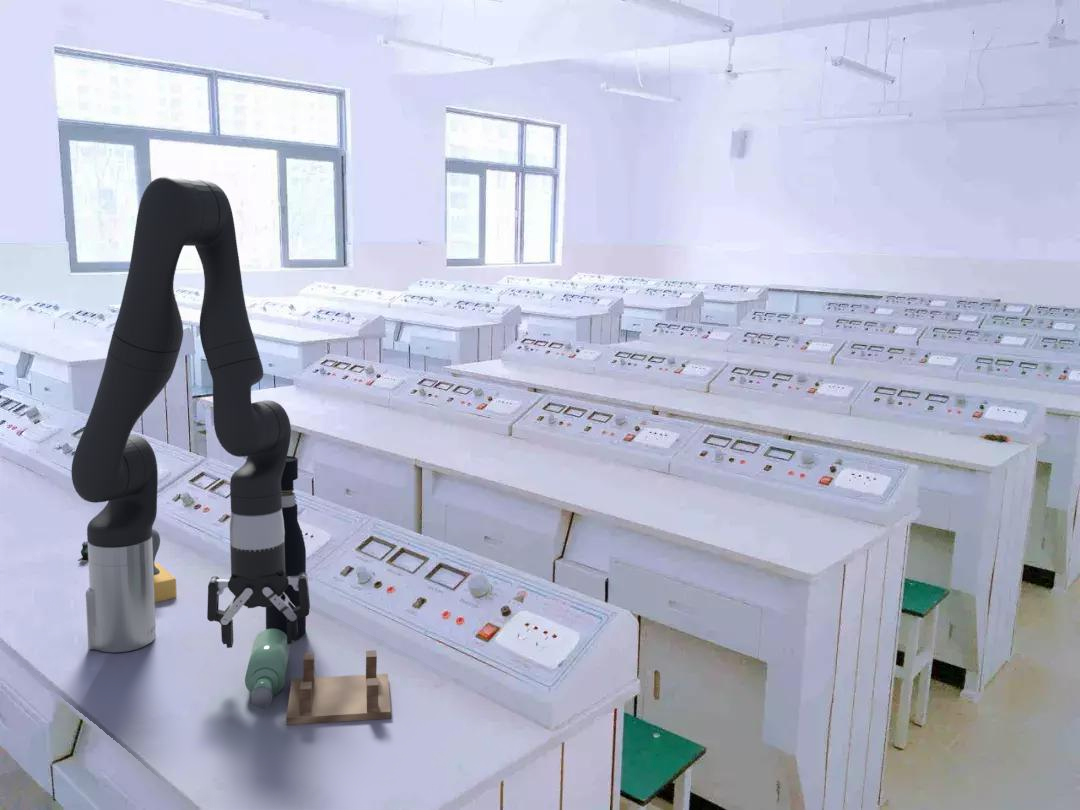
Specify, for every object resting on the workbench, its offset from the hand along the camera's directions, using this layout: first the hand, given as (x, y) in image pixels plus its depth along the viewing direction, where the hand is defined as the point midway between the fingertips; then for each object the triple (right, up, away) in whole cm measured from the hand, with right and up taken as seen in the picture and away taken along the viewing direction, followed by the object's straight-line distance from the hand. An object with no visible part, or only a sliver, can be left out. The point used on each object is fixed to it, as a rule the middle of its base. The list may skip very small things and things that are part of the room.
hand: (260, 643), depth 132 cm
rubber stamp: (-29, +1, +30) cm, 42 cm away
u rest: (+13, -7, -4) cm, 15 cm away
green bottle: (0, -6, -1) cm, 6 cm away
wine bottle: (-1, -3, +16) cm, 17 cm away
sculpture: (-48, +4, +44) cm, 65 cm away
